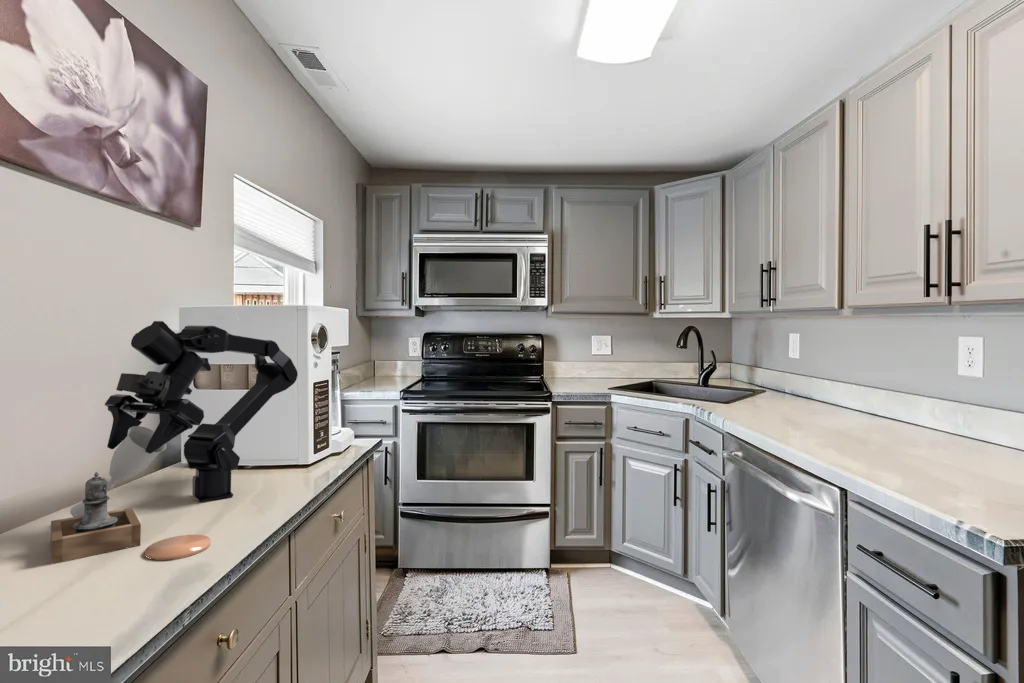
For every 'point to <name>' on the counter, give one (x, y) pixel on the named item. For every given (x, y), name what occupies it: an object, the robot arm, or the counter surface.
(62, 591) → the counter surface
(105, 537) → the walnut collar
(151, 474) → the counter surface
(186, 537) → the terracotta coaster
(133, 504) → the counter surface
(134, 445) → the chalice
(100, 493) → the pewter pepper pot
